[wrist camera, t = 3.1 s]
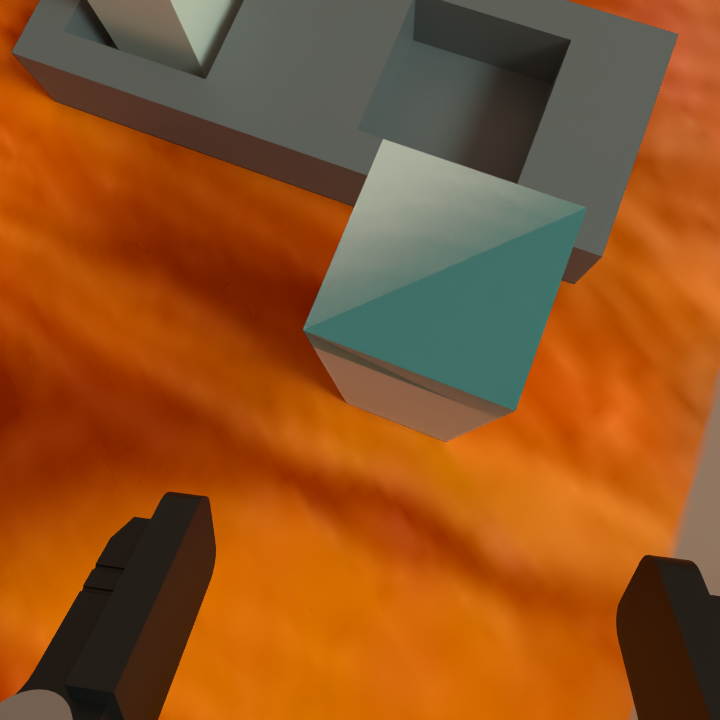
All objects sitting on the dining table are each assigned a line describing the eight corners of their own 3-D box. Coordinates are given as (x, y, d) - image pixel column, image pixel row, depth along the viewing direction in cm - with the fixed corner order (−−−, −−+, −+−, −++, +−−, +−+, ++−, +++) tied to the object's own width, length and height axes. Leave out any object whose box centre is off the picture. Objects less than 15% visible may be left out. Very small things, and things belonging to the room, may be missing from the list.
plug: (346, 403, 22) (302, 329, 11) (384, 307, 23) (383, 138, 11) (446, 442, 22) (515, 410, 10) (482, 344, 23) (587, 207, 11)
